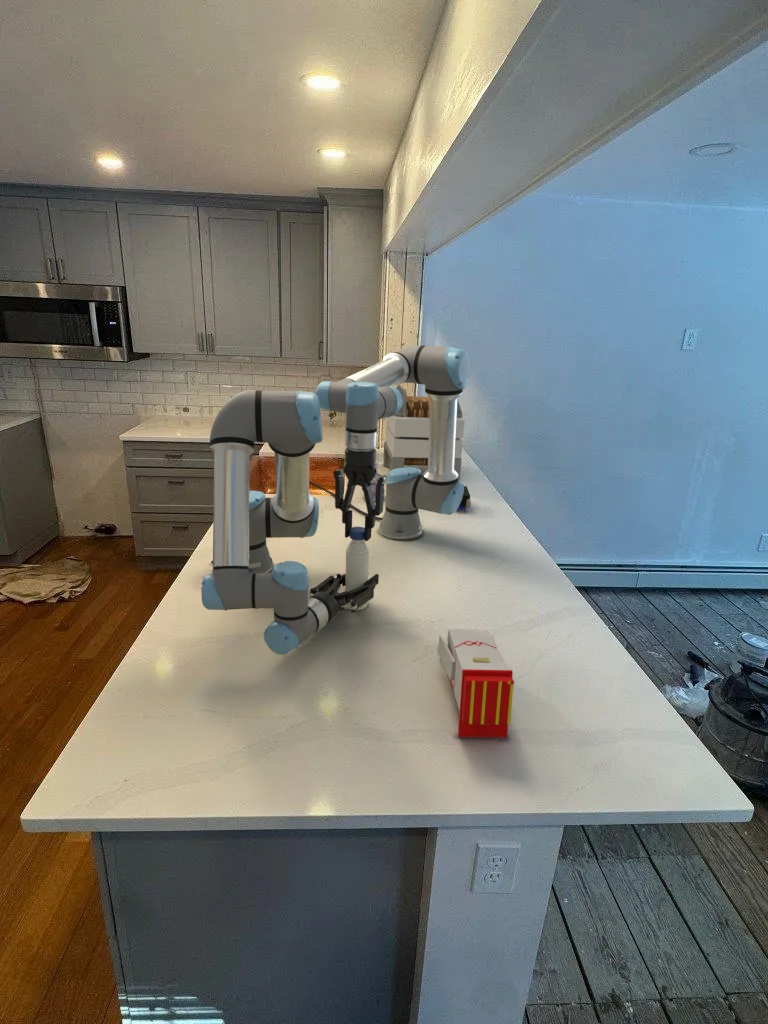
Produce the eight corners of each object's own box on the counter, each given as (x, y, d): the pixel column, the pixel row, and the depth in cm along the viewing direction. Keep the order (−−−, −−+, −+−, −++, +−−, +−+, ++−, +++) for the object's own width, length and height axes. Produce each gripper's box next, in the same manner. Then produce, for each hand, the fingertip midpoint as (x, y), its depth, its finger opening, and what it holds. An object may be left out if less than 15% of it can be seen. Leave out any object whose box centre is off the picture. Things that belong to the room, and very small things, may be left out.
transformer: (382, 463, 289) (386, 382, 275) (445, 464, 293) (451, 384, 279) (390, 482, 257) (394, 392, 243) (460, 483, 261) (468, 394, 247)
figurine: (369, 503, 229) (370, 467, 224) (358, 496, 237) (359, 461, 232) (389, 500, 233) (391, 465, 228) (378, 493, 242) (380, 459, 236)
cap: (369, 538, 144) (369, 530, 143) (355, 541, 142) (355, 533, 141) (360, 533, 147) (360, 525, 147) (346, 535, 145) (346, 528, 144)
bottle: (348, 611, 148) (349, 536, 141) (342, 600, 153) (343, 528, 146) (369, 608, 150) (372, 534, 142) (363, 598, 155) (366, 526, 148)
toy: (488, 613, 130) (523, 677, 101) (484, 667, 133) (517, 744, 104) (435, 612, 130) (455, 676, 101) (432, 666, 133) (451, 743, 103)
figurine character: (470, 516, 223) (465, 500, 237) (473, 499, 220) (467, 484, 233) (453, 516, 223) (449, 500, 236) (455, 498, 220) (451, 483, 233)
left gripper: (285, 614, 140) (337, 579, 159) (350, 637, 131) (396, 597, 150) (284, 587, 137) (337, 554, 156) (351, 608, 129) (398, 571, 148)
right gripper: (320, 446, 136) (320, 536, 144) (389, 456, 131) (385, 548, 138) (334, 440, 143) (333, 526, 151) (400, 449, 137) (395, 538, 145)
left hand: (366, 575), depth 153 cm, fingers closed on bottle, 6 cm apart
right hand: (357, 537), depth 145 cm, fingers open, 5 cm apart
